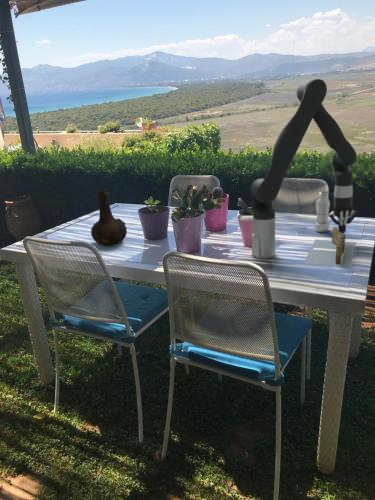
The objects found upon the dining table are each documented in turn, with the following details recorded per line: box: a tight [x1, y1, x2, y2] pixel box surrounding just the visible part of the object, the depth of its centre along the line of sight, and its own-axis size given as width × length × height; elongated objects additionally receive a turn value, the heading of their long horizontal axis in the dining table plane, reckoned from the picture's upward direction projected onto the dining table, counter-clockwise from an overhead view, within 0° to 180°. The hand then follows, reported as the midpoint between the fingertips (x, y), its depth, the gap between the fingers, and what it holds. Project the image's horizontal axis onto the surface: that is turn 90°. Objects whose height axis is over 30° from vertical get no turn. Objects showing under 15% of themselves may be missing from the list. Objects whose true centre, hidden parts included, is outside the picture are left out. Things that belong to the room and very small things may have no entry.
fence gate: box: [331, 226, 346, 248], centre depth 182 cm, size 13×2×7 cm, turn 179°
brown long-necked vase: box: [90, 188, 128, 247], centre depth 208 cm, size 18×18×28 cm
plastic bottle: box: [314, 191, 331, 233], centre depth 202 cm, size 6×7×20 cm
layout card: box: [303, 239, 357, 269], centre depth 178 cm, size 31×18×1 cm, turn 155°
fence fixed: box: [335, 235, 346, 264], centre depth 170 cm, size 14×2×8 cm, turn 155°
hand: (341, 232), depth 186 cm, fingers closed
